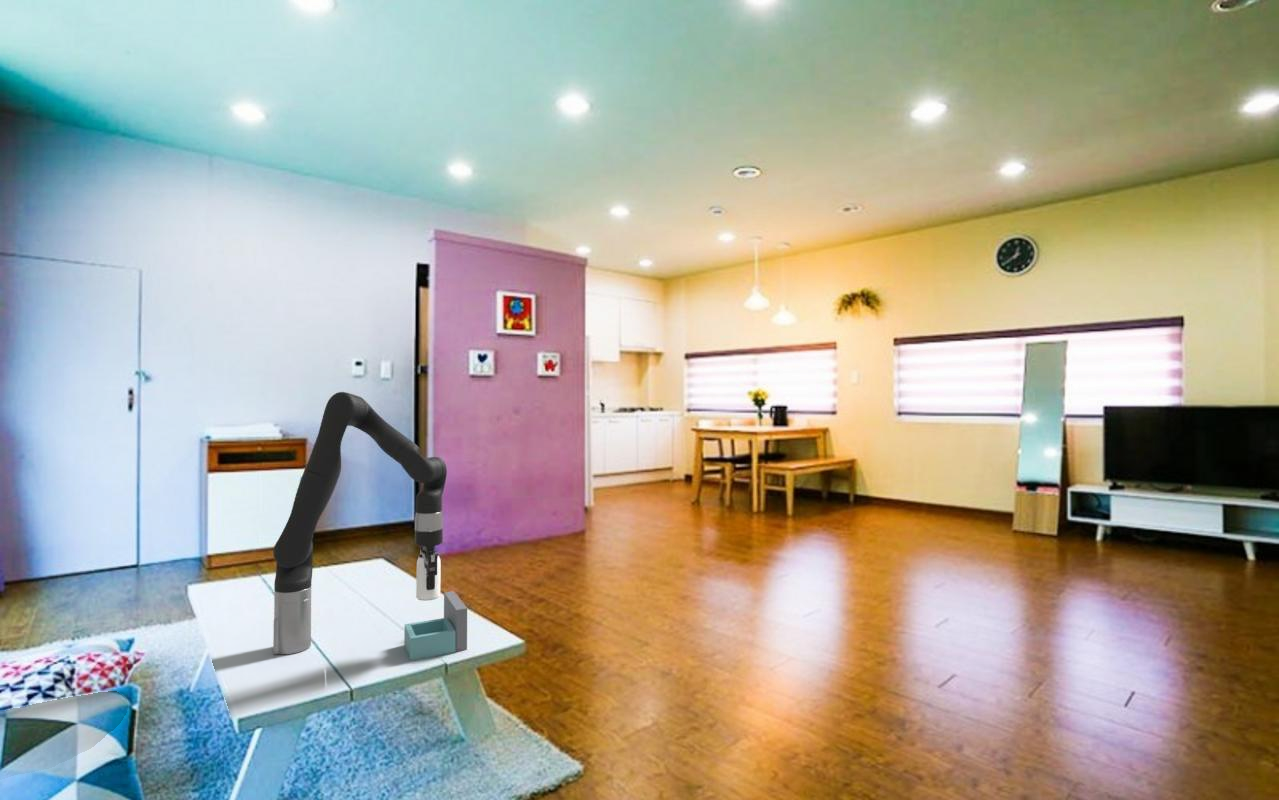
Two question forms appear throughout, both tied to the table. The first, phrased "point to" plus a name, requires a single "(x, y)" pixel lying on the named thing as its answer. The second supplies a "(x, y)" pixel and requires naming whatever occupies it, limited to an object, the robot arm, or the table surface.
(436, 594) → the can
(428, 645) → the socket block
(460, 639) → the wall board
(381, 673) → the table surface
